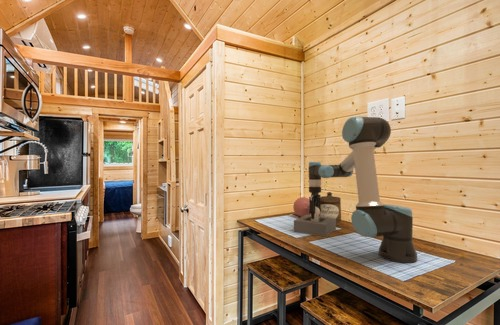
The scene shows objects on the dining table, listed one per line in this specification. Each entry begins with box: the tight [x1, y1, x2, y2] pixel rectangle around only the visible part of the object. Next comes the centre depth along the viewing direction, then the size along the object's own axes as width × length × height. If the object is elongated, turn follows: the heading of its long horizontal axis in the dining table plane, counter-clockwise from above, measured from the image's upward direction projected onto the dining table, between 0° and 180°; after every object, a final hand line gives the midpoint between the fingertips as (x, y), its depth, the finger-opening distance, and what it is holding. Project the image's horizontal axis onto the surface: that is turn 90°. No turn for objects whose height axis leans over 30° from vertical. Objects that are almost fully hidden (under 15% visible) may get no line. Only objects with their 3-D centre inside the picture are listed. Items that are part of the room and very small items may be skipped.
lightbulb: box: [315, 207, 320, 222], centre depth 161 cm, size 6×6×11 cm
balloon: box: [292, 196, 311, 218], centre depth 198 cm, size 15×20×15 cm
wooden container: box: [319, 191, 342, 227], centre depth 179 cm, size 15×15×22 cm
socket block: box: [293, 214, 337, 238], centre depth 161 cm, size 20×20×7 cm
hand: (315, 222), depth 161 cm, fingers closed on lightbulb, 6 cm apart
